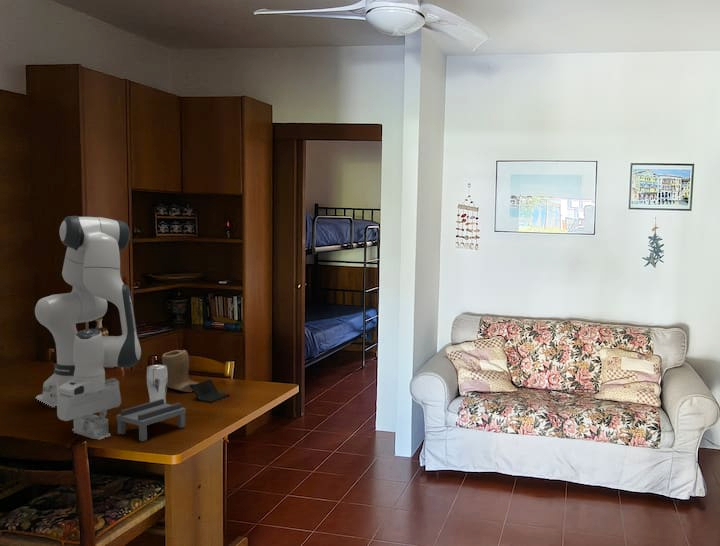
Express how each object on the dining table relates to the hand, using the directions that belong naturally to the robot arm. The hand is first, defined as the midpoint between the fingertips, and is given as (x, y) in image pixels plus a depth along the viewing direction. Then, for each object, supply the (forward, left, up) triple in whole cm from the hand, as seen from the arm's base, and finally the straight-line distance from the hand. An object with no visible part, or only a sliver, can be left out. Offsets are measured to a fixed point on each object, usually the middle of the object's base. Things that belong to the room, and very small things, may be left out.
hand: (90, 427), depth 215 cm
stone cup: (-18, +52, -2) cm, 55 cm away
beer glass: (-4, +29, -2) cm, 29 cm away
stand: (+12, +13, -2) cm, 18 cm away
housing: (0, 0, -2) cm, 2 cm away
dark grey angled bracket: (0, +50, -3) cm, 50 cm away
